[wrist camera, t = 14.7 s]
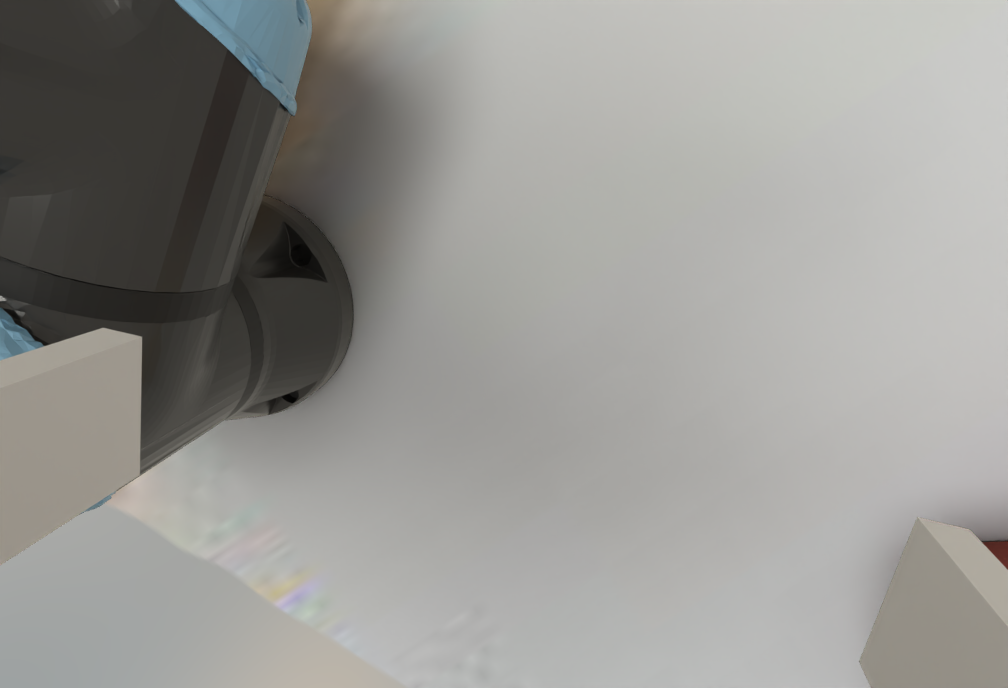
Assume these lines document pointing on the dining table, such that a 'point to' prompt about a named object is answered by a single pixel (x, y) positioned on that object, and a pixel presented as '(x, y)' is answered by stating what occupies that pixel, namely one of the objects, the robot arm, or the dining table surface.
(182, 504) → the dining table surface
